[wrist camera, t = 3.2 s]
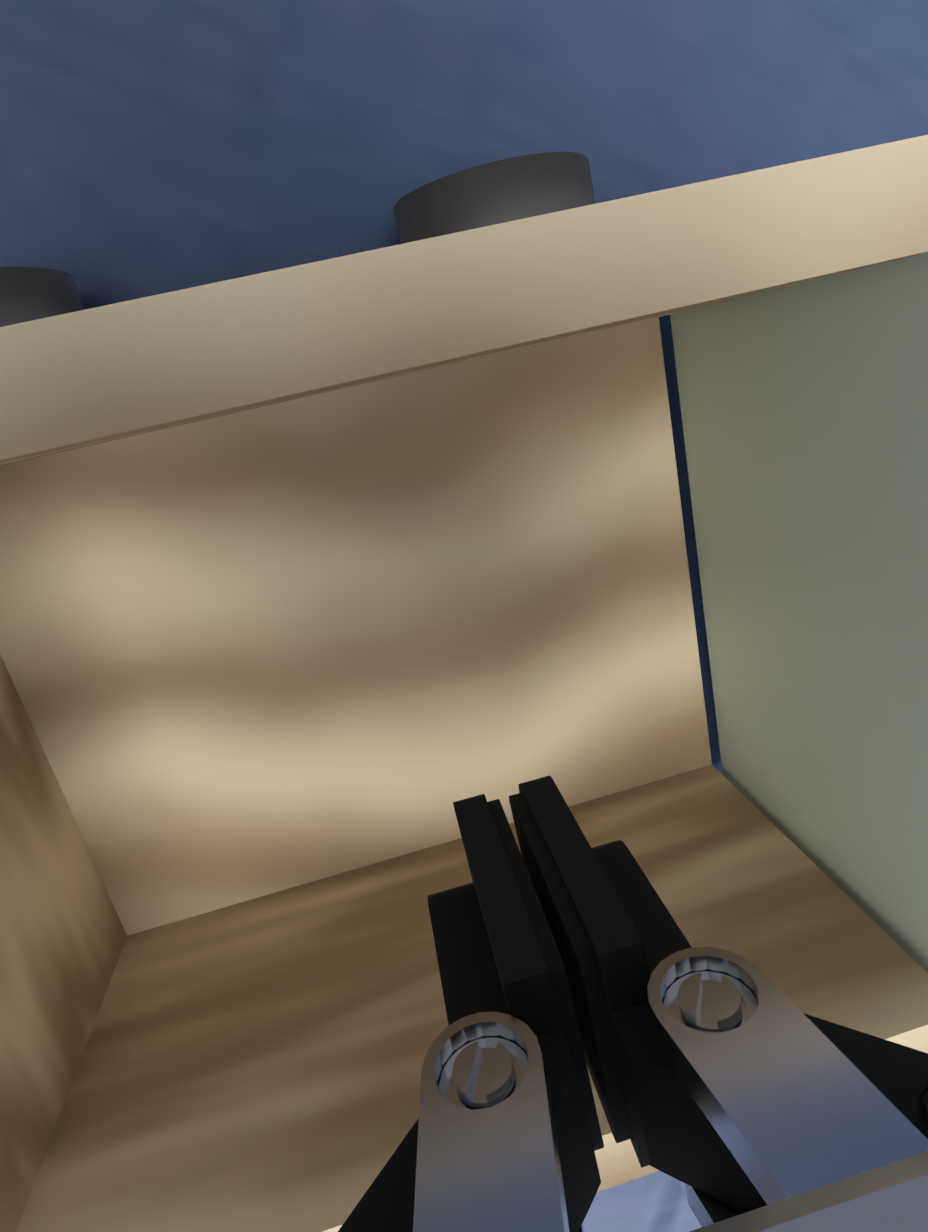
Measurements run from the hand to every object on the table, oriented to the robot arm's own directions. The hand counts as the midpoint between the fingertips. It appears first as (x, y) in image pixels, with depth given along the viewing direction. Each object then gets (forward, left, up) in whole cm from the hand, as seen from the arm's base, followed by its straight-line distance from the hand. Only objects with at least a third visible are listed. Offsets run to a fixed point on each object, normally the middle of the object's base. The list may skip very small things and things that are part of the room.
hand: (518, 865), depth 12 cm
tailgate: (0, +10, -11) cm, 15 cm away
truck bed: (0, -2, -13) cm, 13 cm away
